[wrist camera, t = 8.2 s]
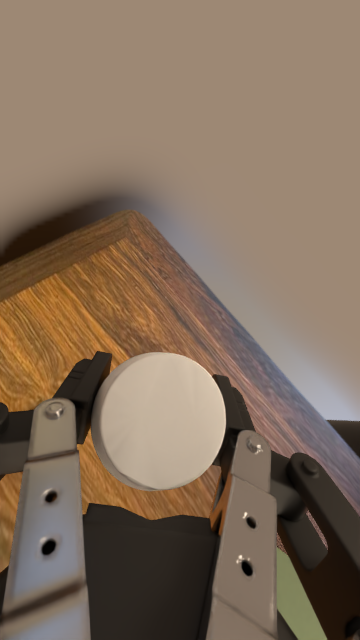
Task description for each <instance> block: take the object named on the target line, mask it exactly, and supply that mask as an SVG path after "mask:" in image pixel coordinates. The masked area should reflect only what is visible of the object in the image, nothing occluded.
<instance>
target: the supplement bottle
mask: <svg viewBox="0 0 360 640" xmlns="http://www.w3.org/2000/svg"><path fill="white" fill-rule="evenodd" d="M225 427H226V412H225V405H224V401H223V397H222V394H221V392H220V390H219V388H218V386H217V384H216V382H215V381H214V379H213V378H212V376H211V375H210V374H209V373H208V372H207V371H206V370H205V369H204V368H203V367H202V366H201V365H199V364H198V363H196V362H195V361H193V360H191V359H189V358H187V357H185V356H182V355H178V354H173V353H162V352H153V353H146V354H141V355H138V356H135V357H133V358H130V359H128V360H126V361H125V362H123V363H122V364H120V365H119V366H118V367H116V368H115V369H114V370H113V371H112V372H111V373H110V374H109V375H108V377H107V378H106V379H105V380H104V382H103V383H102V385H101V387H100V389H99V390H98V393H97V395H96V397H95V400H94V404H93V408H92V414H91V435H92V440H93V444H94V448H95V450H96V453H97V455H98V457H99V459H100V460H101V462H102V464H103V465H104V467H105V468H106V469H107V470H108V471H109V473H111V474H112V475H113V476H114V477H115V478H116V479H118V480H119V481H121V482H122V483H124V484H126V485H128V486H130V487H132V488H135V489H139V490H145V491H159V490H170V489H175V488H178V487H182V486H184V485H186V484H188V483H190V482H192V481H194V480H195V479H197V478H198V477H199V476H201V475H202V474H203V473H204V472H205V471H206V470H207V469H208V468H209V466H210V465H211V464H212V463H213V461H214V459H215V458H216V456H217V454H218V452H219V450H220V448H221V445H222V442H223V438H224V433H225Z"/></svg>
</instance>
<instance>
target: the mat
mask: <svg viewBox="0 0 360 640" xmlns="http://www.w3.org/2000/svg"><path fill="white" fill-rule="evenodd" d="M277 609H278V611H279V612H280V613H281V615H282V616H283V618H284V619H285V621H286V622H287V624H288V625H289V627H290V628H291V630H292V631H293V633H294V634H295V636H296V637H297V638H298V640H327V638H326V636H325V634H324V631H323V629H322V627H321V625H320V623H319V621H318V618H317V616H316V614H315V612H314V610H313V608H312V606H311V603H310V601H309V599H308V597H307V595H306V593H305V591H304V588H303V586H302V584H301V582H300V580H299V578H298V575H297V573H296V571H295V569H294V567H293V565H292V563H291V560H290V558H289V556H288V555H286V554H285V553H284V552H283V551H281V550H280V549H279V548H278V547H277Z"/></svg>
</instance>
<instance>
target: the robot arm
mask: <svg viewBox="0 0 360 640" xmlns="http://www.w3.org/2000/svg"><path fill="white" fill-rule="evenodd" d="M111 360H112V354H110V353H105V352H100V351H97V352H96V354H95V356H94V357H93V359H92V360H89V359H83V360H81V361H79V362H78V363H76V364H75V366H74V367H73V369H72V370H71V372H70V373H69V375H68V376H67V377H66V379H65V380H64V382H63V383H62V385H61V386H60V388H59V389H58V390H57V392H56V393H55V395H54V396H53V398H51V399H48V400H45V401H43V402H42V403H40V404H39V405H38V406H37V407H36V408H35V409H34V410H29V411H18V412H8V407H7V406H6V405H5V404H3V403H1V402H0V480H1V479H2V478H3V477H4V476H5V475H6V474H10V473H16V472H22V471H23V476H22V483H21V489H20V496H19V503H18V509H17V516H16V523H15V530H14V536H13V543H12V550H11V556H10V563H9V566H7V567H6V568H5V569H4V570H3V571H2V572H1V573H0V640H298V638H297V637H296V636H295V634H294V633H293V631H292V630H291V628H290V627H289V625H288V624H287V622H286V621H285V619H284V618H283V616H282V615H281V613H280V612H279V611H278V609H277V533H278V535H279V537H280V539H281V541H282V543H283V545H284V548H285V550H286V552H287V554H288V556H289V558H290V560H291V563H292V565H293V567H294V569H295V571H296V573H297V575H298V578H299V580H300V582H301V584H302V586H303V588H304V591H305V593H306V595H307V597H308V599H309V601H310V603H311V606H312V608H313V610H314V612H315V614H316V616H317V618H318V621H319V623H320V625H321V627H322V629H323V631H324V634H325V636H326V638H327V640H360V516H359V515H358V514H357V512H356V511H355V510H354V508H353V507H352V506H351V504H350V503H349V502H348V501H347V499H346V498H345V497H344V495H343V494H342V493H341V491H340V490H339V489H338V487H337V486H336V485H335V483H334V482H333V481H332V479H331V478H330V477H329V475H328V474H327V473H326V471H325V470H324V469H323V467H322V466H321V465H320V464H319V463H318V462H317V461H316V460H315V459H313V458H312V457H310V456H308V455H306V454H304V453H294V454H293V455H292V457H291V458H290V459H289V458H287V457H284V456H282V455H280V454H278V453H276V452H274V451H272V450H271V448H270V446H269V444H268V442H267V441H266V440H265V439H264V438H263V437H262V436H261V435H260V434H258V433H256V431H255V429H254V426H253V423H252V421H251V418H250V415H249V413H248V411H247V407H246V405H245V402H244V399H243V397H242V395H241V393H240V392H239V391H238V390H237V389H236V388H234V387H231V384H230V381H229V378H228V377H226V376H221V375H216V374H214V375H213V376H212V378H213V379H214V381H215V382H216V384H217V386H218V388H219V390H220V392H221V394H222V397H223V401H224V405H225V412H226V427H225V433H224V438H223V442H222V445H221V448H220V450H219V452H218V454H217V456H216V458H215V459H214V461H213V463H212V465H216V466H221V474H220V476H219V479H218V483H217V487H216V491H215V495H214V499H213V503H212V507H211V511H210V515H209V518H203V517H195V516H187V515H178V516H173V517H167V518H162V519H157V520H148V519H146V518H144V517H141V516H139V515H137V514H135V513H133V512H130V511H128V510H126V509H124V508H122V507H117V506H109V505H102V504H94V503H89V506H88V509H87V512H86V514H83V515H82V500H81V481H80V462H79V451H78V450H77V444H83V443H84V441H85V439H86V436H87V434H88V431H89V429H90V426H91V414H92V408H93V404H94V400H95V397H96V395H97V393H98V390H99V389H100V387H101V385H102V383H103V382H104V380H105V379H106V378H107V377H108V375H109V373H110V366H111ZM308 510H309V512H310V513H311V515H312V517H313V518H314V520H315V521H316V523H317V525H318V526H319V528H320V530H321V531H322V533H323V535H324V537H325V539H326V541H327V545H328V550H327V549H326V547H325V545H324V543H323V542H322V540H321V538H320V537H319V535H318V533H317V532H316V530H315V528H314V526H313V525H312V523H311V521H310V520H309V518H308V516H307V514H306V513H307V511H308Z"/></svg>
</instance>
